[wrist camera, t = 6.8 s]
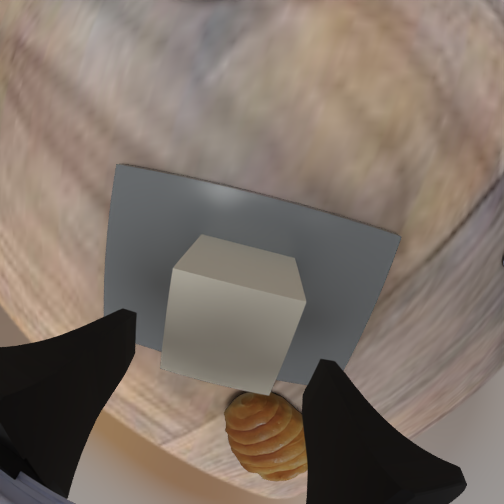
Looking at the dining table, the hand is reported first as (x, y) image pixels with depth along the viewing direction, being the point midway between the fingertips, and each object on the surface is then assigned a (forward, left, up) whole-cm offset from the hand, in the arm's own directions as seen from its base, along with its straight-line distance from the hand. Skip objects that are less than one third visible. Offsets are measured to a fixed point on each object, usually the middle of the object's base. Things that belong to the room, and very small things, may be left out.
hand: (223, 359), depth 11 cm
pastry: (-5, +12, -7) cm, 15 cm away
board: (0, 0, -7) cm, 7 cm away
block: (0, 0, -6) cm, 6 cm away
